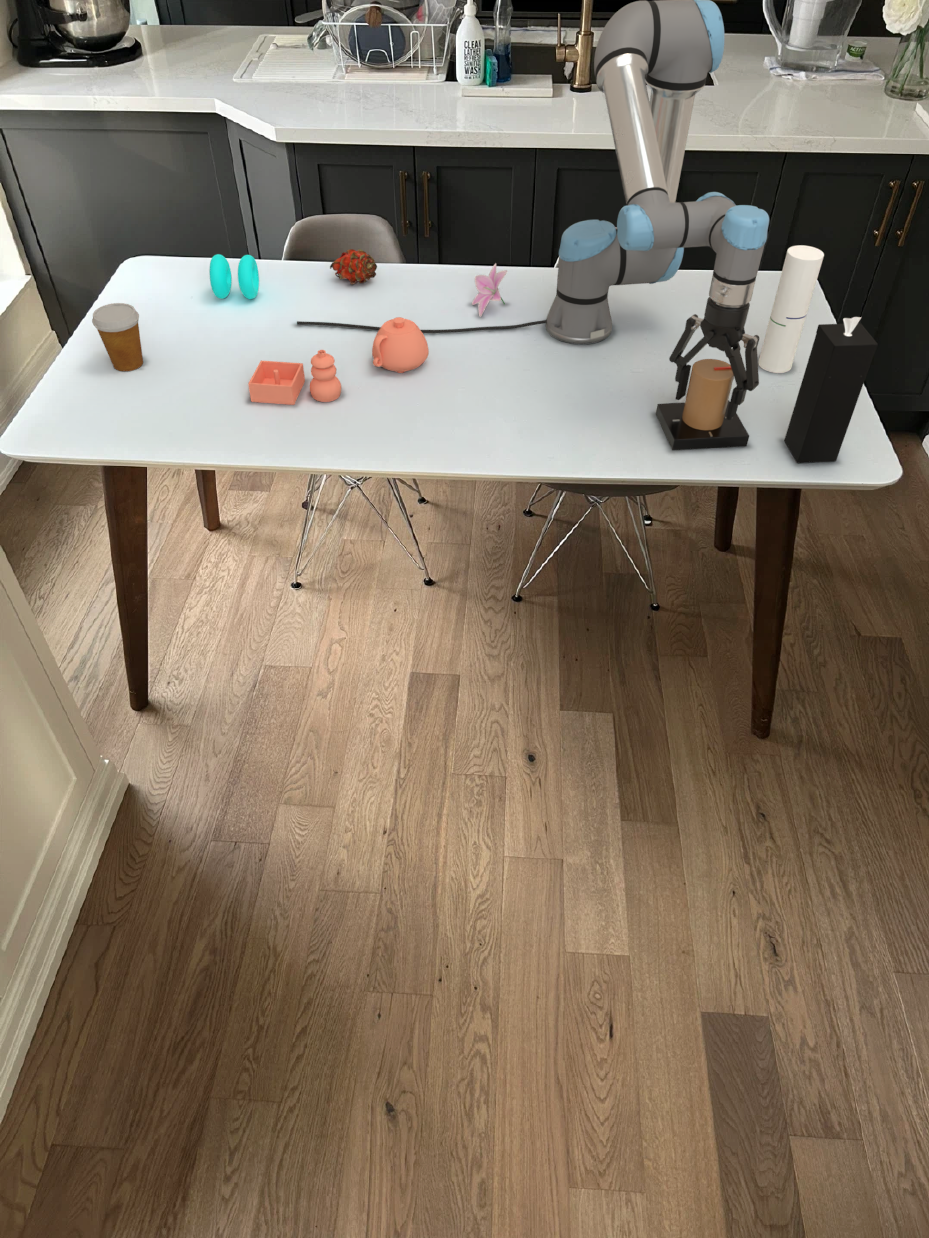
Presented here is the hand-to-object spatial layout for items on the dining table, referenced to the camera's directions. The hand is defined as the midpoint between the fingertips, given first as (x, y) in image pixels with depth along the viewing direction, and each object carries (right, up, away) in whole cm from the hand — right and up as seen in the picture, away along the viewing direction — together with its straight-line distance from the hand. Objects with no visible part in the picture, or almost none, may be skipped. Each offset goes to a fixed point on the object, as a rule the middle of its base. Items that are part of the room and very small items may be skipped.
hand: (705, 406), depth 180 cm
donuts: (-103, +37, +43) cm, 117 cm away
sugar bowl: (-62, +14, +21) cm, 67 cm away
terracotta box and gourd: (-82, +6, +12) cm, 83 cm away
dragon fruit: (-75, +43, +50) cm, 100 cm away
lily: (-41, +33, +40) cm, 67 cm away
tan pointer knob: (0, -2, +2) cm, 3 cm away
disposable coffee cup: (-121, +14, +20) cm, 123 cm away
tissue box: (+20, -9, -1) cm, 22 cm away
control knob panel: (0, -4, +4) cm, 5 cm away
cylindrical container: (+21, +14, +22) cm, 34 cm away
